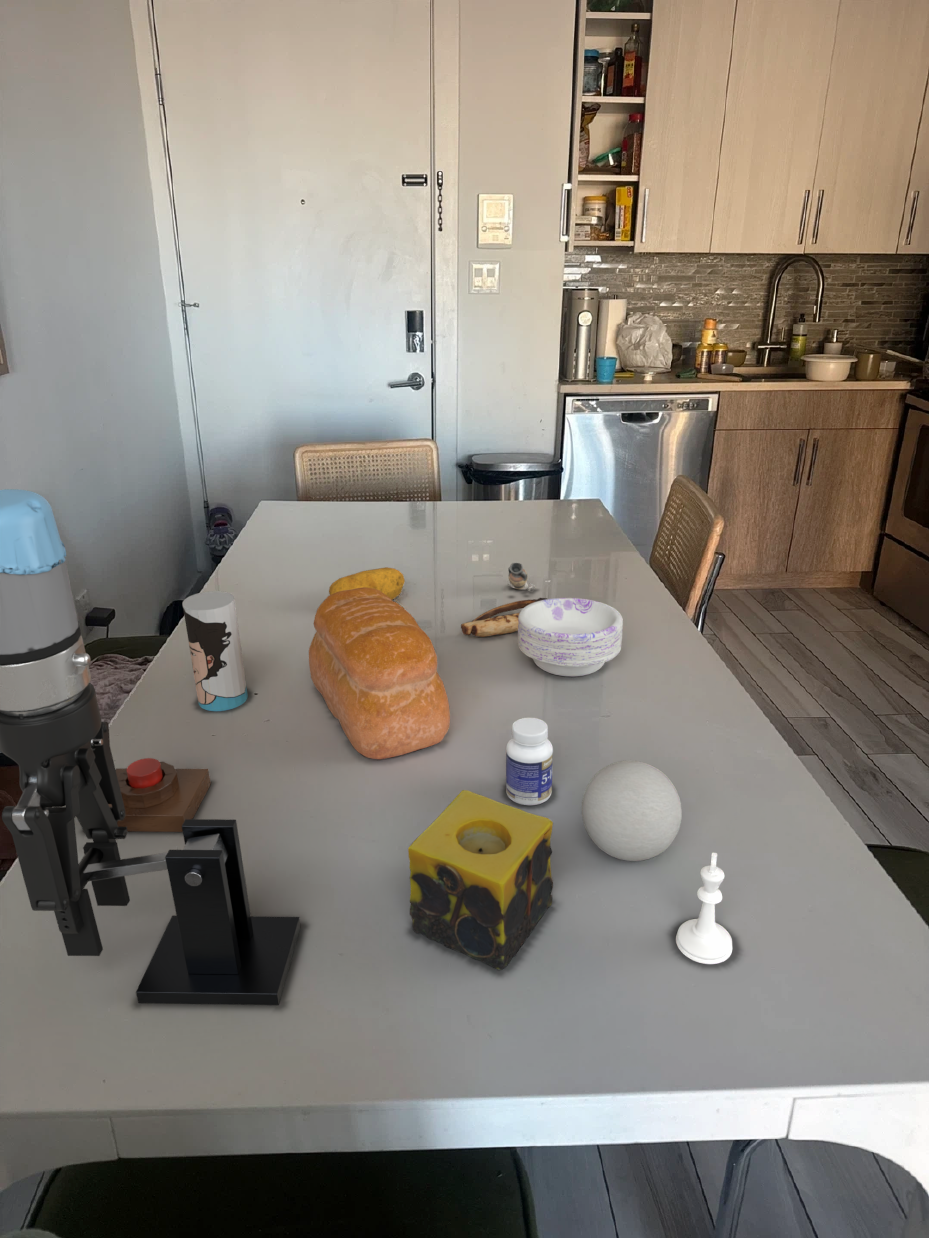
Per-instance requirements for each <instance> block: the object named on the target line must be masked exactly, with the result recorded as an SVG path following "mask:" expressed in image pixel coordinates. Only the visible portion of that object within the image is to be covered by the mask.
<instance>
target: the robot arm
mask: <svg viewBox="0 0 929 1238" xmlns="http://www.w3.org/2000/svg"><path fill="white" fill-rule="evenodd" d="M50 504H51V503H50V502H49V501H48V500H47V499H46V498H45V497H44V496H43V495H41V494H40V493H38V492H35V491H31V490H28V489H27V490H26V489H17V488H16V489H13V488H12V489H9V488H7V489H6V488H5V489H0V752H1V753H2V754H3V755H5V756H6V757H8V758H9V759H10V760H12V761H14V762H15V763H16V764H17V766H18V768H19V787H20V790H21V791H22V794H21V796H20V797H19V800H18V802H17V804H16V805H7V806H4V808H3V809H2V812H1V820H2V822H3V824H4V825H5V826H6V828H7V830H8V831H9V833H10V834H11V836H12V840H13V844H14V847H15V851H16V855H17V859H18V863H19V867H20V870H21V873H22V877H23V881H24V885H25V888H26V893H27V896H28V900H29V904H30V907H31V908H30V909H31V910H32V911H34V912H54V916H55V921H56V923H57V927H58V930H59V932H60V933H61V936H62V940H63V945H64V947H65V950H66V954H67V956H68V957H100V956H101V954H102V952H103V950H104V949H103V944H102V939H101V936H100V931H99V928H98V924H97V920H96V916H95V912H94V908H93V906H92V901H91V897H90V893H89V889H88V888H83V889H81V888H80V876H79V865H78V864H79V855H78V843H77V831H76V821H75V819H77V821H78V823H79V825H80V827H81V829H82V831H83V833H84V835H85V837H86V839H87V840H92V841H87V842H86V843H85V844H84V845H83V847H82V850H83V854H84V855H85V854H86V852H87V851H88V849H90V848H98V849H100V850H101V851H102V853H103V858H102V860H101V862H100V863H102V862H108V861H115V860H121V855H120V851H119V847H118V843H117V840H125V839H126V838H127V836H128V831H127V827H118V825H117V822H118V820H123V819H124V817H125V807H124V803H123V799H122V795H121V790H120V786H119V782H118V778H117V774H116V766H115V761H114V757H113V754H112V749H111V744H110V742H111V741H110V740H111V739H110V726H109V722H108V721H102V715H101V710H100V707H99V702H98V698H97V693H96V689H95V687H94V685H93V684H92V683H91V680H92V675H91V671H90V666H89V665H90V663H91V656H90V655H89V654H88V653H87V652H86V649H85V648H86V647H85V643H84V639H83V635H82V631H81V626H80V621H79V620H78V614H77V610H76V605H75V601H74V596H73V591H72V585H71V581H70V576H69V569H68V563H67V550H66V546H65V544H64V542H63V541H62V540H61V536H60V533H59V529H58V525H57V522H56V518H55V515H54V511H53V507H52V506H51V505H50ZM108 804H112V807H109V805H108ZM90 882H91V886H92V889H93V894H94V897H95V901H96V905H97V907H127V906H128V905H129V903H130V901H131V899H130V894H129V889H128V886H127V881H126V876H121V877H115V878H108V879H102V880H95V881H90Z"/></svg>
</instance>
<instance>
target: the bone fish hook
mask: <svg viewBox="0 0 929 1238" xmlns="http://www.w3.org/2000/svg"><path fill="white" fill-rule="evenodd" d="M546 599H548V598H546V597H539V598H537V599H536V598H535V599H534V598H533V599H523V600H522V599H521V600H517V601H513V602H509V603H505V604H502V605H499V606H496V607H493V608H492V609H489V610H487V611H485V612H483V613H481V614H479V615H478V616H477V617H475V618H474V619H473V620H472V621H467V622H464V623H461V625H460V629H461V632H462V634H463V635H465V636H470V635H472V636H474V637H480V638H486V637H492V636H496V635H499V636H500V635H505V634H512V633H515V632H518V624H519V621H518V617H519V613H520V612H515V613H509V614H504V613H508V612H511V611H516V610H522V609H523V608H524V607H526V606H527V605H529V604H531V603H534V602H537V601H541V600H546ZM502 613H503V614H502ZM500 614H502V615H500Z"/></svg>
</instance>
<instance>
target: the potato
mask: <svg viewBox="0 0 929 1238" xmlns="http://www.w3.org/2000/svg"><path fill="white" fill-rule="evenodd" d="M405 582H406V580H405V577H404V574H403V573H402V572H401V571H400V570H399V569H396V568H393V567H389V566H387V567H385V566H384V567H380V568H373V569H367V570H362V571H359V572H356V573H353V574H348V575H346V576H343V577H339V578H338V579H336V580H335V581H334V582H332V583H331V584H330V586H329V589H328V594H329V595H331V594H333V593H336V592H339V591H344V590H351V589H356V588H362V587H366V588H373V589H377V590H379V591H381V592H382V593H384V594H385V595H387V596H388V597H390V598H391V600H392V601H394V599H396V598H397V597H398V596H399V595H401V593H402V591H403V587H404V585H405Z"/></svg>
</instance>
